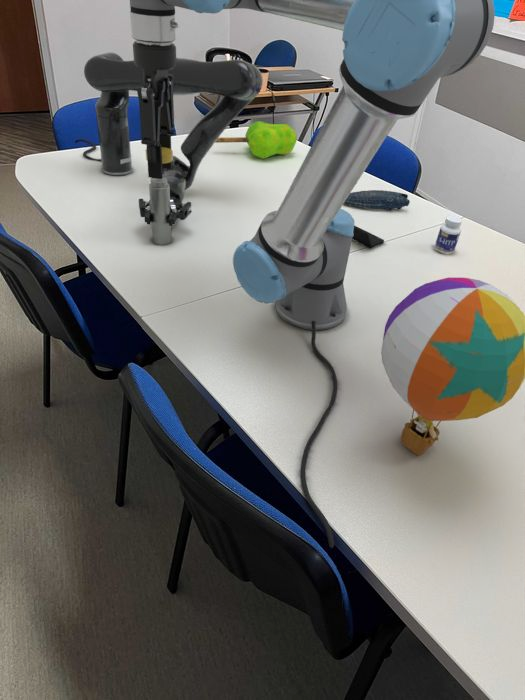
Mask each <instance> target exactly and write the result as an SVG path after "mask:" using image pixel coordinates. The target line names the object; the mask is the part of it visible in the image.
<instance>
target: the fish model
mask: <svg viewBox="0 0 525 700" xmlns="http://www.w3.org/2000/svg"><path fill="white" fill-rule="evenodd" d="M410 202H411V201H410V200H409V195H408V194H406V193H403V192H402V193H401V192H399V191H392V190H382V189H380V190H379V189H377V190H376V189H368V190H360V191H351V193H350V194H349V196H348V197H347V199H346V200H345V202H344V203H343V204H346V205H349V206H351V207H357V208H362V209H371V210H372V209H374V210H384V211H385V210H386V211H391V210H394V209H397V210H402V208H404V207H408V206H409V205H410Z"/></svg>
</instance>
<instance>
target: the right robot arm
mask: <svg viewBox="0 0 525 700" xmlns="http://www.w3.org/2000/svg"><path fill="white" fill-rule="evenodd" d="M129 6H130V7H129V8H130V11H129V13H130V29H131V30H130V31H131V37H132V39H134V40H135V41H133V43H132V57H133V60H134V64H135V65H136V66H137V67H139V68H142V69H143V70H144V76H143V81H142V87H138V88H137V91H136V92H137V99H138V105H139V106H138V107H139V108H138V109H139V124H140V125H139V126H140V139H141V140H140V143H141V145H146V149H147V160H146V162H147V174H148V176H147V177H148V178H150V179H151V178H157V179H162V178H163V171H162V168H166V169H171V168H172V161H171V162H169V163H165V164H162V148H161V147H166V148H169V149H171V150H172V136H175V135H176V130H175V109H174V108H175V106H174V95H173V79H174V77H173V75H172V74H168V71H167V70H171V69H173V68H175V67H176V58H177V46H176V45H175V43H173V42H175V40H176V29H178V28H179V23H178V21H176V8H175V7H177V8H180V9H181V8H182V9H185V10H189V11H194V12H195V13H198V14H211V15H212V14H213V15H214V14H219V13H221V11H223V10H232V9H245V10H251V11H252V10H253V11H256V12H260V13H266V14H272V15H276V16H280V17H285V18H288V19H293V20H297V21H300V22H305V23H309V24H314V25H317V26H322V27H326V28H330V29H334V30H339V31H342V39H341V41H342V42H343V44H344V48H343V49H342V56H343V59H342V61H341V63H340V65H339V68H338V73H339V77H340V80H341V84H342V86H341V89H340V91H339V93H338V94H337V96H336V99H335V100H334V102H333V104H332V106H331V108H330V110H329V112H328V114H327V116H326V118H325V119H324V122H323V123H322V125H321V127H320V129H319V130H318V133H317V134H316V137H314V140H313V143H312V145H311V146H310V148H309V150H308V152H307V153H306V155H305V158H304V160H303V161H302V163H301V165H300V167H299V169H298V171H297V172H296V174H295V177H294V178H293V180H292V182H291V185H290V186H289V188H288V190H287V192H286V194H285V196H284V198H283V199H282V201H281V204H280V205H279V208H278V209H277V210H272V211H270V212H269V213H267V214H266V215H265V216H264V217H263V219H262V221H261V223H260V224H259V226H258V228H257V230H256V232H255V234H254V236H253V237H252V238H251V239H250V240H245V241H243V242H242V243H241V244H239V245H238V246H237V247H236V249H235V250H234V252H233V258H232V265H233V271H234V273H235V277H236V279H237V282H238V283H239V285H240V286H241V288H242V289H243V290H244V291H245V293H246V294H247V295H248V296H249V297H251V299H253V300H254V301H257V302H259V303H264V304H273V303H275V311H276V313H277V315H278V316H279V317H280V318H281V319H282V320H283V321H284V322H286V323H287V324H289V325H291V326H293V327H296V328H300V329H304V330H310V331H311V343H310V344H311V347H312V350H313V352H314V353H315V355H316V356H317V357H318V359H320V361H322V362H323V363H324V364H325V365H326V367H327V368H328V369H329V372H330V374H331V378H332V395H331V398H330V400H329V404H328V406H327V408H326V409H325V411H324V413H323V414H322V416H321V418H320V419H319V421H318V423H317V425H316V426H315V429H314V430H313V431H312V432H311V435H310V436H309V438H308V440H307V442H306V444H305V447H304V448H303V453H302V457H301V462H300V469H299V470H300V471H299V472H300V473H299V474H300V484H301V488H302V492H303V495H304V497H305V500H306V502H307V504H308V505H309V506H310V509H312V511H313V512H314V513H315V514H316V516H317V517H318V518H319V520H320V521H321V524H322V525H323V527H324V530H325V532H326V536H327V537H326V538H327V542H328V546H329V548H331V549H333V548H334V547H335V539H334V534H333V531H332V529H331V526H330V524H329V520H328V519H327V518H326V516H325V515H324V513H323V512H322V511H321V509H320V508H319V507H318V506H317V504H316V503H315V502H314V499H313V498H312V497H311V494H310V492H309V488H308V484H307V483H308V482H307V477H306V476H307V475H306V468H307V460H308V456H309V452H310V449H311V446H312V444H313V442H314V440H315V438H316V437H317V436H318V434H319V432H320V431H321V429H322V427H323V425H324V423H325V421H326V419H327V417H328V416H329V414H330V412H332V409H333V407H334V405H335V403H336V400H337V395H338V387H339V386H338V378H337V374H336V371H335V369H334V367H333V366H332V364H331V362H330V361H329V360H328V359H326V357H324V356H323V354H322V353H321V352H320V351H319V349H318V348H317V345H316V336H317V334H316V332H317V331H324V330H325V331H326V330H329V329H333V328H336V327H337V326H339V325H340V324H342V323H343V322H344V320H345V318H346V315H347V310H348V309H347V308H348V307H347V306H348V305H347V297H346V292H345V286H344V280H345V275H346V271H347V267H348V262H349V257H350V253H351V252H350V251H351V247H352V242H353V239H352V238H353V236H354V234H353V230H354V225H355V219H354V217H353V215H352V214H350V213H349V212H348V211H346V210H345V209H343V208H342V206H343V205H344V204H345V203H344V202H345V200H346V199H347V197H348V196H349V194H350V193H352V192H353V189H354V188H355V187H356V185H357V184H358V182H359V181H360V179H361V177H362V176H363V174H364V172H365V171H366V169H367V168H368V166H369V165H370V163H371V162H372V160H373V159H374V157H375V155H376V154H377V152H378V151H379V149H380V148H381V146H382V144H383V143H384V142H385V140H386V138H387V137H388V136H389V134H390V132H391V131H392V129H393V127H394V126H395V124H396V123H397V121H398V120H401V119H402V120H403V119H407V118H410V117H414V115H416V113H417V112H418V111H419V109H420V107H421V106H422V105H423V103H424V102H425V100H426V98H427V97H428V95H429V94H430V92H431V91H432V89H433V88H434V86H435V85H436V84H437V82H438V81H439V80H440V78H444V77H448V76H451V75H455V74H456V73H459V72H461V71H463V70H464V69H466V68H467V67H469V66H470V65H471V64H473V63H474V62H475V61H476V60H477V59H478V58H479V56H481V54H482V53H483V51H484V49H485V48H486V47H487V45H488V43H489V41H490V38H491V36H492V31H493V29H494V26H495V25H494V24H495V17H496V16H495V15H496V12H495V10H496V9H495V5H494V0H129Z"/></svg>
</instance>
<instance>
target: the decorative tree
mask: <svg viewBox="0 0 525 700" xmlns="http://www.w3.org/2000/svg"><path fill="white" fill-rule="evenodd" d="M297 139H298V138H297V133H296V130H294V129H293V128H292V127H291V126H290V125H289V124H285V123H274V124H273V123H267V122H264V121H262V120H261V121H260V120H257V121H255V122H254V123H252V124H250V125H249V126H248V128H247V130H246V133H245V135H244V137H243V136H242V137H237V136H236V137H218V139H217V140H216V142H215V143H214V144H218V143H219V144H220V143H247V145H248V147H249V150H250V151H251V154H252V155H253V156H255V157H257V158H260V159H262V160H264V159H268V158H269V157H272V156H274V155H280V156H281V155H282V156H283V155H284V156H285V155H287V154H289V153H291V152H292V151H293V150H294V148H295V145H296V144H297Z"/></svg>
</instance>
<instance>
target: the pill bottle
mask: <svg viewBox="0 0 525 700" xmlns="http://www.w3.org/2000/svg"><path fill="white" fill-rule="evenodd" d="M462 222H463V219H461V218H460V217H458V216H455V215H448V216H446V218H445V220H444V223H443V224H442V225H440V228H439V231H438V234H437V237H436V240H435V243H434V250H435V251H437V252H439V253H441V254H447V255H449V254H453V253H454V252H455V250H456V247H457V244H458V242H459V239H460V236H461V233H462V229H461V225H462Z"/></svg>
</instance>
